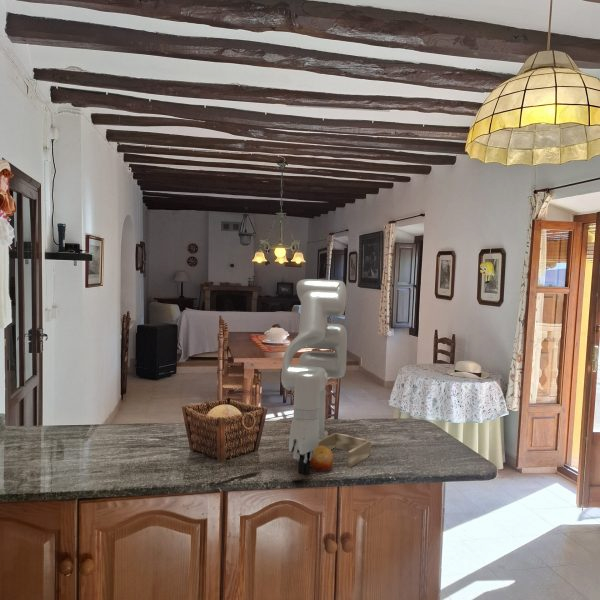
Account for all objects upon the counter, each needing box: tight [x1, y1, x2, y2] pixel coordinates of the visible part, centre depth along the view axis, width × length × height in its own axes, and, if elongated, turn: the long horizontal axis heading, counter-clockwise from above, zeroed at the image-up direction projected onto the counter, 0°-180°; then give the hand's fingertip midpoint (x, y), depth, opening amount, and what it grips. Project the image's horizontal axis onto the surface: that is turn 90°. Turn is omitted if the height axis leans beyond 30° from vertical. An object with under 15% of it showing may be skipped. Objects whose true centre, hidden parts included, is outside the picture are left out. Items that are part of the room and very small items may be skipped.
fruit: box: [310, 445, 334, 472], centre depth 160 cm, size 8×8×8 cm
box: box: [318, 431, 372, 469], centre depth 171 cm, size 14×14×5 cm
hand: (303, 473), depth 152 cm, fingers closed
